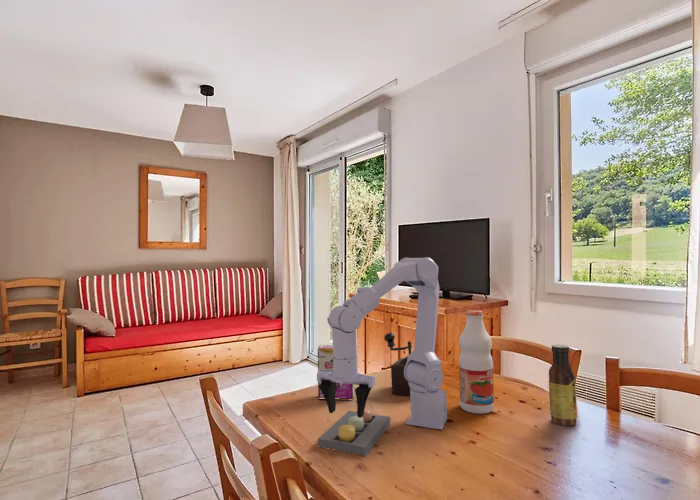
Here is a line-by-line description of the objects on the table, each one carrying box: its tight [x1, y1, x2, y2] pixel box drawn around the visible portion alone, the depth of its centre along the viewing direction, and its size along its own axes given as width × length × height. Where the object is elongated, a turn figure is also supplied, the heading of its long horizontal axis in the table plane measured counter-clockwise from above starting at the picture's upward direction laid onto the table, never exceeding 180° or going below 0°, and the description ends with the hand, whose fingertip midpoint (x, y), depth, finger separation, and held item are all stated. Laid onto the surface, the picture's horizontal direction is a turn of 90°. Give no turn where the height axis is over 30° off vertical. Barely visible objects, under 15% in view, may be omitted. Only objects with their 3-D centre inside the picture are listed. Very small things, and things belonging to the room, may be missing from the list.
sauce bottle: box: [548, 344, 578, 427], centre depth 105 cm, size 7×6×20 cm
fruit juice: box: [458, 309, 495, 415], centre depth 116 cm, size 9×9×28 cm
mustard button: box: [338, 425, 355, 443], centre depth 95 cm, size 4×4×2 cm
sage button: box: [348, 416, 364, 433], centre depth 101 cm, size 4×4×2 cm
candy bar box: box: [317, 344, 355, 400], centre depth 127 cm, size 11×5×16 cm, turn 84°
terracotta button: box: [357, 407, 373, 423], centre depth 106 cm, size 4×4×2 cm
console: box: [317, 410, 391, 457], centre depth 101 cm, size 12×18×2 cm, turn 156°
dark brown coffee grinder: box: [383, 332, 413, 398], centre depth 133 cm, size 16×11×18 cm
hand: (346, 413), depth 96 cm, fingers open, 7 cm apart
